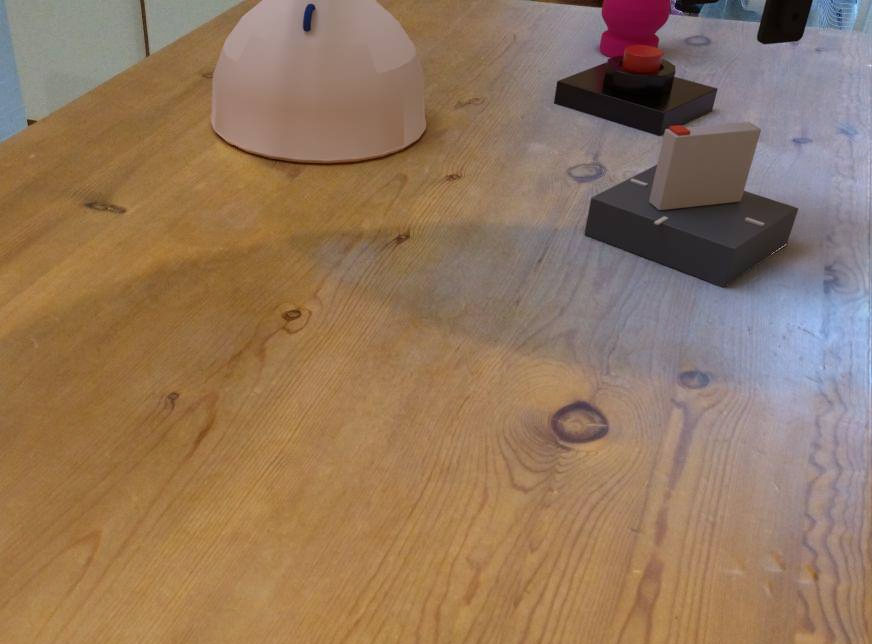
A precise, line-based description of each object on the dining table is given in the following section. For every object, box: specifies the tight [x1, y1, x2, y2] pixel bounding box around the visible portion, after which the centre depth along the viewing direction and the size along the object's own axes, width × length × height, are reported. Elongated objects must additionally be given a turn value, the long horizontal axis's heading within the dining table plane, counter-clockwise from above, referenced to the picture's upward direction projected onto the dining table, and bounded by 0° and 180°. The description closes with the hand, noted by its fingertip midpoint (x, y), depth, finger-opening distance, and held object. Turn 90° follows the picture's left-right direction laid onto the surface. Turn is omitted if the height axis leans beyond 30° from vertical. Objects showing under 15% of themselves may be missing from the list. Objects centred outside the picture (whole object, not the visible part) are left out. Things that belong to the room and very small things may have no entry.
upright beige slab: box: [649, 121, 762, 210], centre depth 78 cm, size 7×2×6 cm, turn 106°
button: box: [622, 45, 664, 73], centre depth 102 cm, size 4×4×2 cm
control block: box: [553, 55, 719, 137], centre depth 103 cm, size 12×10×4 cm
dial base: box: [584, 164, 799, 288], centre depth 81 cm, size 12×11×3 cm
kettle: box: [209, 0, 427, 164], centre depth 94 cm, size 20×21×18 cm
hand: (736, 21), depth 74 cm, fingers open, 9 cm apart
